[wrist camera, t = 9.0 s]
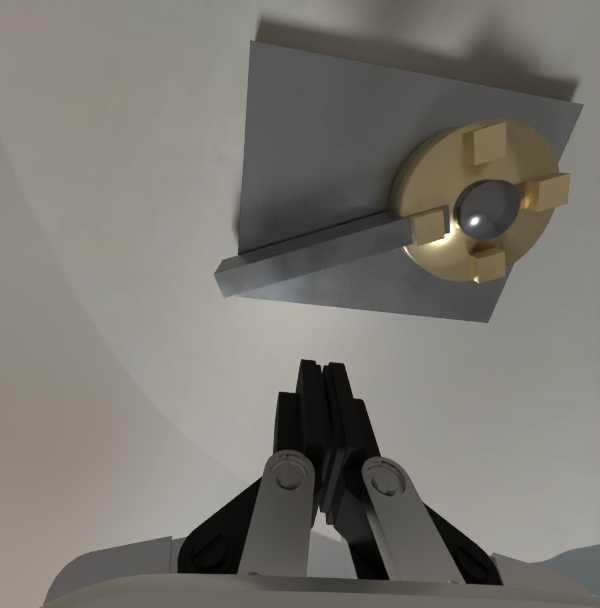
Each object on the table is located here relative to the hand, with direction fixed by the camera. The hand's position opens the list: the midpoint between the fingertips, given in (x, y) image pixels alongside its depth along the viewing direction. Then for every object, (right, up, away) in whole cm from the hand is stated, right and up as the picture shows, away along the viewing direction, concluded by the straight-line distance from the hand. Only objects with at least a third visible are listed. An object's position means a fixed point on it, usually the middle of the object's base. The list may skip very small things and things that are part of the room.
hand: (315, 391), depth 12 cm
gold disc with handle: (+4, +9, +9) cm, 13 cm away
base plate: (+5, +10, +10) cm, 15 cm away
